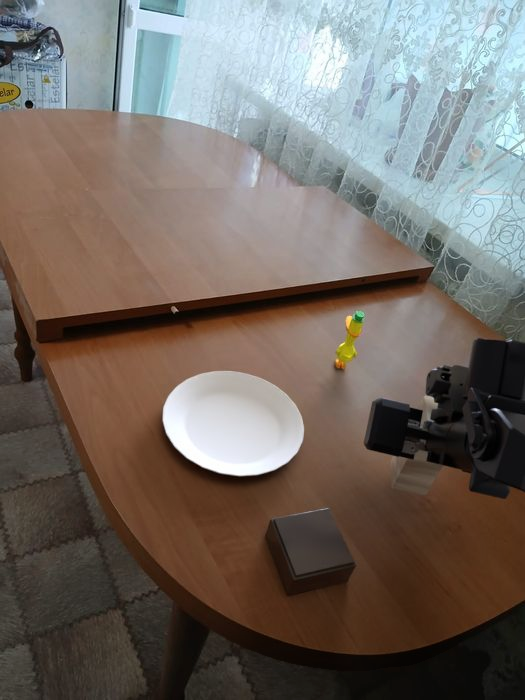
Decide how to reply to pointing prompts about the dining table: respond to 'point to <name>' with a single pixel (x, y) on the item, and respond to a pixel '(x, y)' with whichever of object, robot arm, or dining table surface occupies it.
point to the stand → (309, 551)
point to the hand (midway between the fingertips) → (424, 439)
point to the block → (416, 462)
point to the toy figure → (350, 339)
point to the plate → (233, 423)
